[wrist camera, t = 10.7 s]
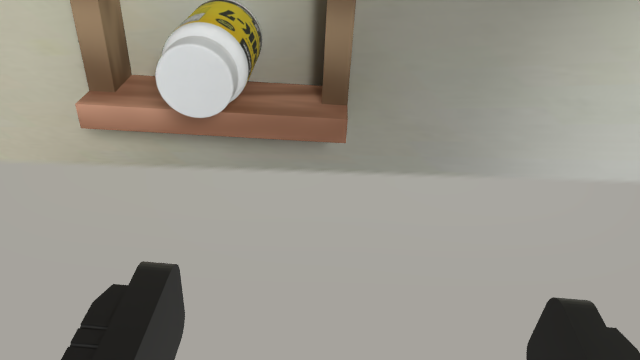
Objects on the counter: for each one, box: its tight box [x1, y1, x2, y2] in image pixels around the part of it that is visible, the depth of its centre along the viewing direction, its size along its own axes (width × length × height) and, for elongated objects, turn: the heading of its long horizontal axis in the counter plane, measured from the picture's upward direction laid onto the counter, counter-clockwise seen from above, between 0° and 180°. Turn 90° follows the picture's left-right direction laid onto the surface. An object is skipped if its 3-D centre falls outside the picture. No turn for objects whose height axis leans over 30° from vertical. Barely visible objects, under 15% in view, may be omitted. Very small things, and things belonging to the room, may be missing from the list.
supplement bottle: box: [155, 0, 262, 118], centre depth 29 cm, size 5×5×8 cm
